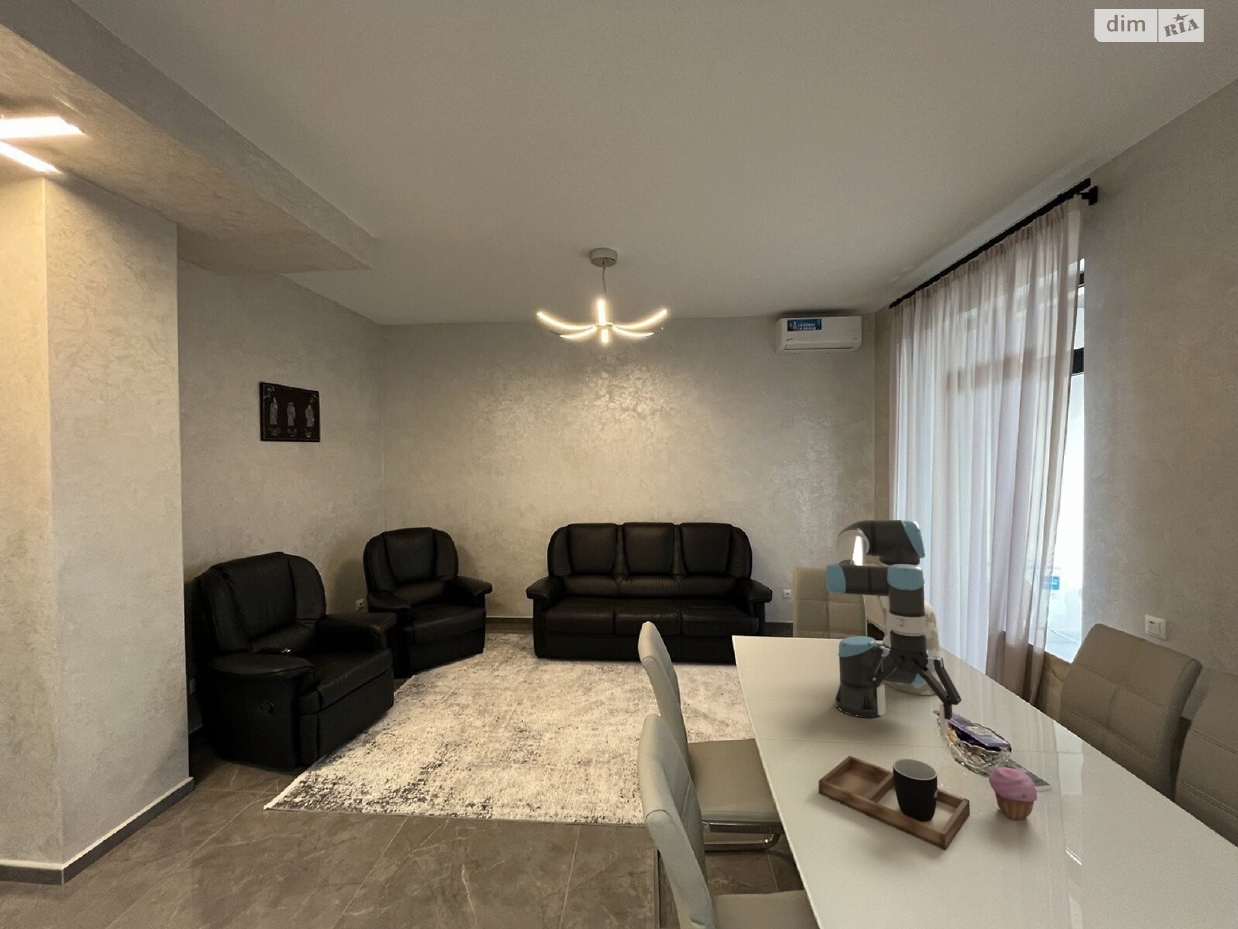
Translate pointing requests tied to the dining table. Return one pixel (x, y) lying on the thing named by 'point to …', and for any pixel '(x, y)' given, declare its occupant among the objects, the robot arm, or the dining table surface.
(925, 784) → the mug
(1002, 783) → the cupcake
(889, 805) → the organizer box
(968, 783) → the dining table surface
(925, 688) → the vase
